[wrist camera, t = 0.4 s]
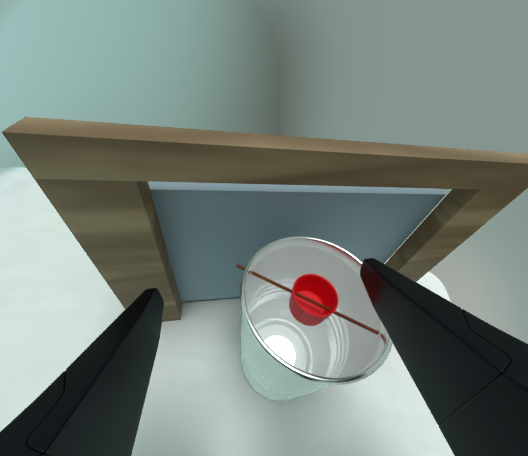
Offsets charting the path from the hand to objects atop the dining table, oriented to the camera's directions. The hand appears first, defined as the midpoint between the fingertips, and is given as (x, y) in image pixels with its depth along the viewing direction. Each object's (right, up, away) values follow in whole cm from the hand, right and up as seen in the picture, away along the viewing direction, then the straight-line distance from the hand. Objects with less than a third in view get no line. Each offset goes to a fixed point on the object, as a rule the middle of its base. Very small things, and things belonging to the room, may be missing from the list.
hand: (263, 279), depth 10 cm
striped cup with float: (+1, -10, +11) cm, 15 cm away
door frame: (+2, -6, +15) cm, 16 cm away
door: (+2, -4, +16) cm, 17 cm away
